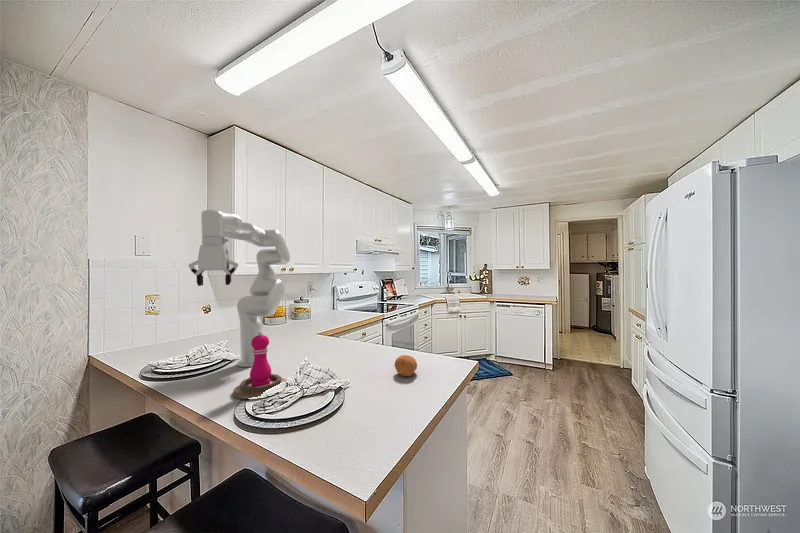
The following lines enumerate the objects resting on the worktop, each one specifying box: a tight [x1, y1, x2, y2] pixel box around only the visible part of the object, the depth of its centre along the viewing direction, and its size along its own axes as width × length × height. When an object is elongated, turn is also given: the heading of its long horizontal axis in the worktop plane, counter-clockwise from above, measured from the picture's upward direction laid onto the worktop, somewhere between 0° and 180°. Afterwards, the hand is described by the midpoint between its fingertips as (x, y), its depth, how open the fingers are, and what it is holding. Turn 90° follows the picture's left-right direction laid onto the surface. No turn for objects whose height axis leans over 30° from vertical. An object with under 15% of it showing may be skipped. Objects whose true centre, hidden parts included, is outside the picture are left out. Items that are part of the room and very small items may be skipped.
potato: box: [394, 354, 418, 377], centre depth 123 cm, size 9×11×8 cm
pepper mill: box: [249, 331, 272, 387], centre depth 111 cm, size 7×7×20 cm
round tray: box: [232, 373, 287, 401], centre depth 110 cm, size 18×18×3 cm
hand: (214, 285), depth 119 cm, fingers open, 9 cm apart
